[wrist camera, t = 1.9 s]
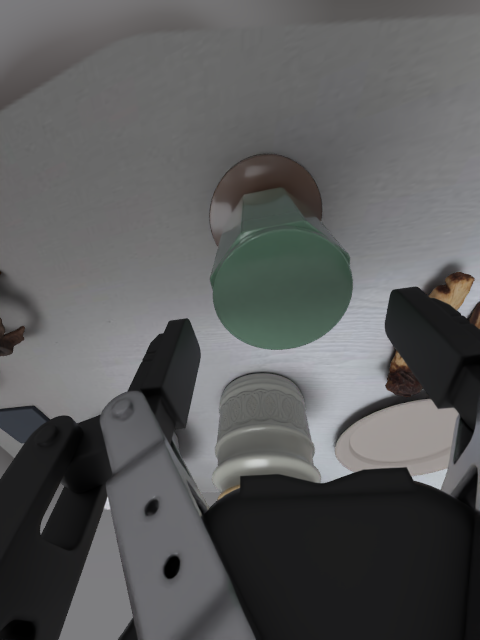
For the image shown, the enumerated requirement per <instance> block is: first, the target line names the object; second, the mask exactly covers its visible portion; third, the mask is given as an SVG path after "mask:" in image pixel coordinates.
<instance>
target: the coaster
mask: <svg viewBox="0 0 480 640" xmlns="http://www.w3.org/2000/svg"><path fill="white" fill-rule="evenodd" d="M47 421H49V419H48V418H47V417H46V416H45V415H44V414H43V413H41V412H40V411H39V410H38V409H37V408H36V407H35V406H27V407H18V408H8V409H0V428H1V429H2V430H4V431H5V432H6V433H8V434H9V435H10V436H12V437H13V438H14V439H16V440H17V441H19V442H20V443H25V442H26V441H27V439H28V438H29V437H30V435H31V434H32V433H33V432H34V431H35V430H36V429H37V428H39V427H40V426H41V425H42V424H44V423H45V422H47Z"/></svg>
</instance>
